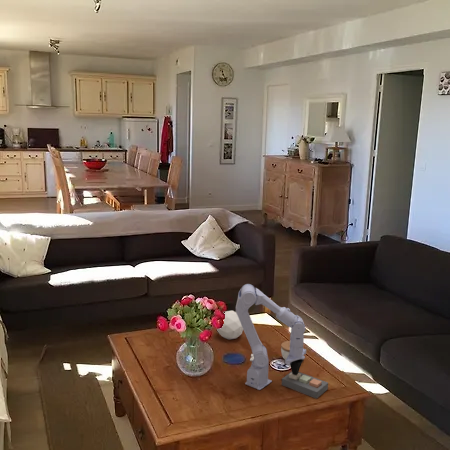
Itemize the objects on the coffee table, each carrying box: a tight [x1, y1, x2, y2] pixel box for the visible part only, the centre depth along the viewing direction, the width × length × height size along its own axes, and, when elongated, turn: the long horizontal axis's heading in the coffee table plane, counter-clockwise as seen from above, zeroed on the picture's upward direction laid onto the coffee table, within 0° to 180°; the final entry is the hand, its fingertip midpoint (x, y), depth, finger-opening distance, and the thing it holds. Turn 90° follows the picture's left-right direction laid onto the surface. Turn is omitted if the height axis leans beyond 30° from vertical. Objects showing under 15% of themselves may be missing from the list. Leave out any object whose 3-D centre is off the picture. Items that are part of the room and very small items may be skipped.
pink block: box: [309, 379, 323, 388], centre depth 215 cm, size 4×4×3 cm
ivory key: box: [288, 372, 301, 380], centre depth 221 cm, size 4×4×3 cm
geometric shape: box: [216, 310, 244, 340], centre depth 265 cm, size 14×15×15 cm
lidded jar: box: [280, 340, 305, 361], centre depth 242 cm, size 11×11×9 cm
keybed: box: [281, 371, 329, 399], centre depth 219 cm, size 10×17×3 cm, turn 52°
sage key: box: [299, 375, 312, 384], centre depth 218 cm, size 4×4×3 cm
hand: (294, 374), depth 221 cm, fingers closed
